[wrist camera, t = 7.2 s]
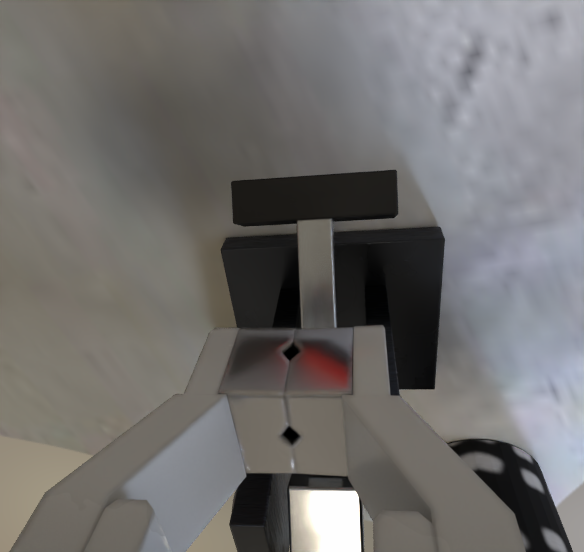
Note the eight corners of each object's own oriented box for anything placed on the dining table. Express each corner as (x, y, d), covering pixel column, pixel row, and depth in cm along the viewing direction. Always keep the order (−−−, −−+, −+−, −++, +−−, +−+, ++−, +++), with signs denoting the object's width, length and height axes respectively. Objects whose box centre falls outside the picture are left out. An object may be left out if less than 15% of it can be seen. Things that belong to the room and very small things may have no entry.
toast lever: (245, 189, 16) (225, 177, 14) (392, 179, 16) (398, 165, 13) (261, 531, 17) (245, 576, 14) (405, 536, 16) (413, 585, 14)
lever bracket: (225, 237, 23) (116, 470, 12) (440, 226, 21) (534, 478, 11) (253, 375, 28) (193, 631, 17) (431, 373, 26) (490, 652, 15)
